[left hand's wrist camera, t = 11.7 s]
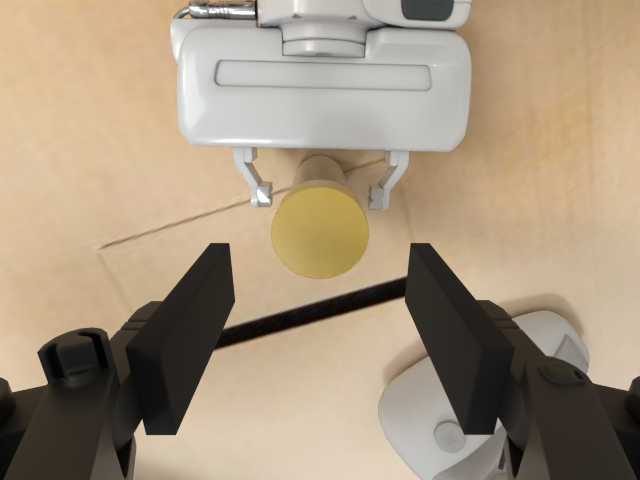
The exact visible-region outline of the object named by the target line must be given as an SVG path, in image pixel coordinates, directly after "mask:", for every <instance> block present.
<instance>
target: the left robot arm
mask: <svg viewBox="0 0 640 480" xmlns="http://www.w3.org/2000/svg"><path fill="white" fill-rule="evenodd" d="M234 303H235V295H234V285H233V275H232V266H231V256H230V246H229V243H210V245H209V246H208V247H207V248H206V250H205V251H204V252H203V253H202V254H201V256H200V257H199V258H198V259H197V260H196V262H195V263H194V264H193V265H192V267H191V268H190V269H189V270H188V271H187V273H186V274H185V275H184V276H183V278H182V279H181V280H180V281H179V282H178V284H177V285H176V286H175V287H174V288H173V290H172V291H171V292H170V293H169V295H168V296H167V297H166V298H165V299H164V301H151V302H149V303H148V304H146V305H145V306H143V307H141V308H140V309H138V310H137V311H136V312H135V313H134V314H133V315H132V316H131V317H130V318H129V320H128V322H126V323H125V324H124V325H123V326H122V327H121V330H118V332H117V333H116V334H115V335H114V336H113V337H112V338H111V339H110V340H109V339H108V335H107V332H105V331H104V330H102V329H99V328H82V329H78V330H74V331H70V332H67V333H65V334H62V335H60V336H58V337H56V338H54V339H52V340H51V341H49V342H48V343H46V344H45V345H43V347H42V348H41V349H40V350H39V351H38V352H37V353H38V356H39V359H40V361H41V364H42V367H43V370H44V373H45V375H46V378H47V381H48V384H47V385H45V386H41V387H36V388H31V389H27V390H22V391H17V392H13V393H12V391H11V388H10V386H9V383H8V381H6V380H5V379H3V378H0V480H133V473H134V464H135V455H136V442H135V437H134V432H135V430H136V429H137V427H138V425H139V423H140V422H141V420H142V419H143V423H144V427H145V431H146V435H176V433H177V431H178V429H179V427H180V424H181V422H182V420H183V418H184V415H185V413H186V411H187V409H188V406H189V404H190V402H191V400H192V397H193V395H194V393H195V391H196V388H197V386H198V384H199V382H200V379H201V377H202V375H203V373H204V370H205V368H206V366H207V364H208V361H209V359H210V357H211V355H212V352H213V350H214V348H215V346H216V343H217V341H218V339H219V337H220V334H221V332H222V330H223V328H224V325H225V323H226V321H227V319H228V316H229V314H230V312H231V310H232V307H233V305H234ZM405 303H406V305H407V307H408V310H409V312H410V314H411V316H412V319H413V321H414V323H415V325H416V328H417V330H418V332H419V334H420V337H421V339H422V341H423V343H424V346H425V348H426V350H427V352H428V355H429V357H430V359H431V361H432V364H433V366H434V368H435V370H436V373H437V375H438V377H439V379H440V382H441V384H442V386H443V388H444V391H445V393H446V395H447V397H448V400H449V402H450V404H451V406H452V409H453V411H454V413H455V415H456V418H457V420H458V422H459V424H460V427H461V429H462V431H463V433H464V435H494V431H495V427H496V423H497V419H498V418H499V420H500V422H501V423H502V425H503V427H504V428H505V430H506V432H507V433H506V437H505V441H504V445H503V449H502V452H501V456H500V460H499V465H498V469H500V470H503V468H504V464H505V463H506V472H507V480H640V376H639V377H637V378H635V379H634V380H633V381H632V383H631V386H630V388H629V391H625V390H621V389H616V388H611V387H607V386H602V385H597V384H593V383H592V382H591V380H590V379H589V378H588V376H587V375H586V374H585V373H584V372H583V371H581V370H580V369H579V368H577V367H576V366H574V365H572V364H570V363H568V362H566V361H564V360H561V359H558V358H555V357H552V356H546V355H545V354H544V353H543V352H542V351H541V350H540V348H539V347H538V346H537V345H536V344H535V343H534V342H533V341H532V340H531V339H530V338H529V337H528V335H527V334H526V333H525V332H524V331H523V330H522V329H520V327H519V326H518V325H517V323H516V322H515V321H512V318H511V317H510V316H509V315H508V314H507V313H506V312H505V310H504V309H503V308H501V307H499V306H498V305H496V304H494V303H493V302H491V301H489V300H476V299H475V298H474V297H473V296H472V295H471V293H470V292H469V291H468V290H467V288H466V287H465V286H464V285H463V284H462V282H461V281H460V280H459V279H458V278H457V276H456V275H455V274H454V273H453V271H452V270H451V269H450V268H449V267H448V265H447V264H446V263H445V262H444V260H443V259H442V258H441V257H440V256H439V254H438V253H437V252H436V251H435V250H434V248H433V247H432V246H431V245H430V243H411V246H410V256H409V266H408V275H407V285H406V295H405Z"/></svg>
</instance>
